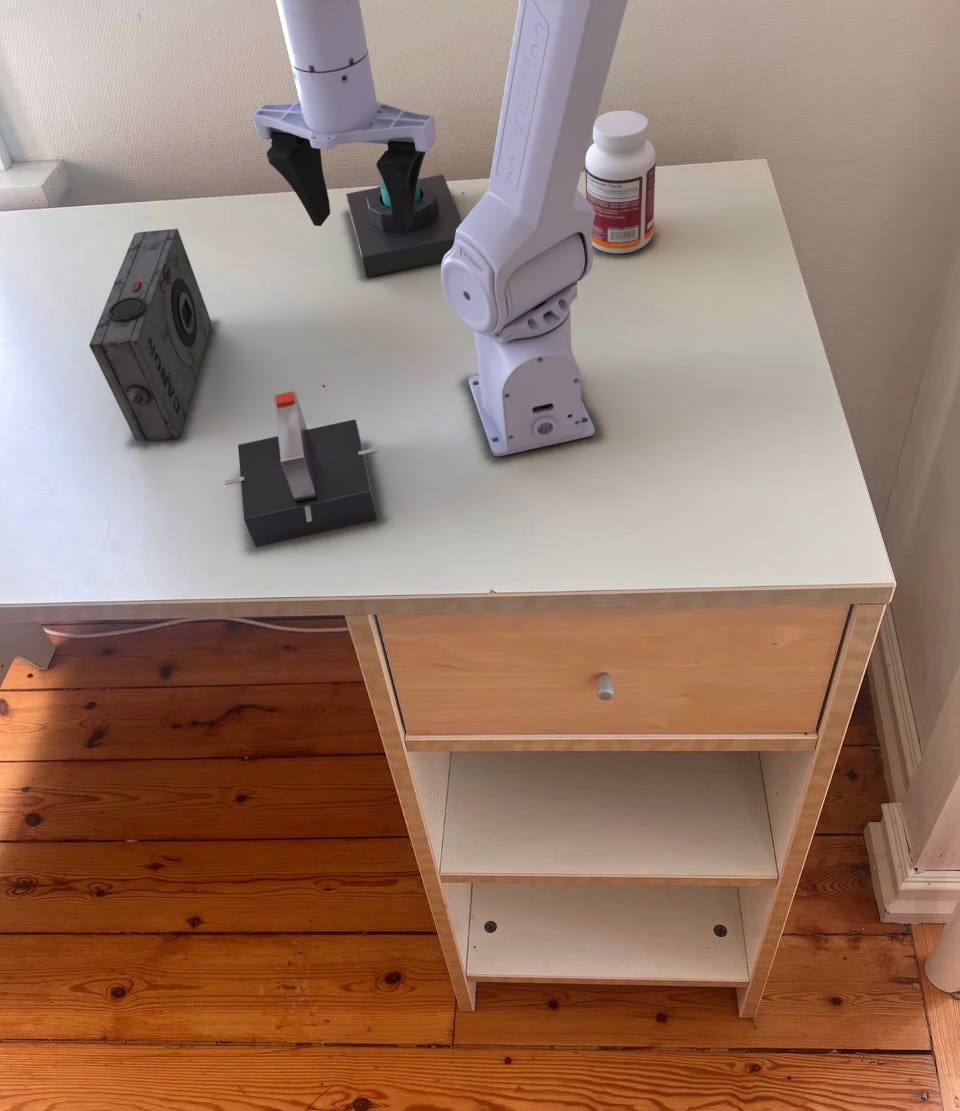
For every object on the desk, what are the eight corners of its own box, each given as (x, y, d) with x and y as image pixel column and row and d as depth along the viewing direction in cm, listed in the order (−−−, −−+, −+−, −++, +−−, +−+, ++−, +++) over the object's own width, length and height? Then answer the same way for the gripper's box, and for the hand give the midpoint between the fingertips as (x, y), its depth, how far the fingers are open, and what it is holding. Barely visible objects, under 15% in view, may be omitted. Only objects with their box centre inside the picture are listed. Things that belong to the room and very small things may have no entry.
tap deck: (396, 532, 69) (388, 502, 67) (241, 567, 69) (228, 538, 66) (373, 431, 77) (366, 400, 74) (233, 461, 76) (221, 432, 74)
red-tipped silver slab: (317, 497, 68) (303, 453, 65) (294, 502, 68) (279, 458, 65) (308, 432, 73) (294, 388, 69) (287, 437, 73) (272, 393, 69)
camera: (180, 448, 78) (135, 347, 70) (132, 451, 78) (82, 351, 70) (214, 324, 88) (178, 224, 81) (172, 327, 88) (132, 229, 81)
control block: (470, 256, 91) (465, 217, 88) (366, 277, 91) (358, 239, 88) (445, 194, 99) (440, 156, 96) (349, 213, 99) (341, 176, 96)
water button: (423, 206, 91) (421, 188, 90) (386, 213, 91) (383, 196, 90) (417, 187, 94) (414, 170, 92) (380, 194, 93) (377, 177, 92)
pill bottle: (619, 212, 94) (621, 98, 86) (666, 236, 91) (673, 119, 82) (572, 239, 92) (569, 125, 83) (619, 264, 88) (621, 147, 80)
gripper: (216, 75, 70) (265, 241, 81) (400, 85, 67) (427, 259, 77) (260, 34, 75) (301, 197, 85) (436, 41, 71) (456, 212, 81)
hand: (363, 223), depth 81 cm, fingers open, 7 cm apart
